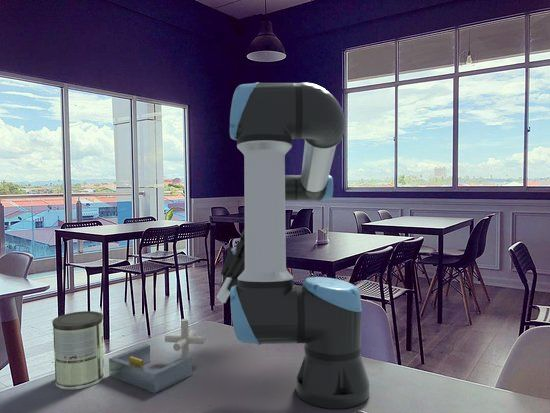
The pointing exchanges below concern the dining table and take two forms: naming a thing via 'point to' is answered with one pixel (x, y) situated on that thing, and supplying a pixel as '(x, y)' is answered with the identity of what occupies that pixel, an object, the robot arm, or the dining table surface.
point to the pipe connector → (184, 339)
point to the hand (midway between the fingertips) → (220, 300)
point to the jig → (147, 370)
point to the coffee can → (78, 349)
